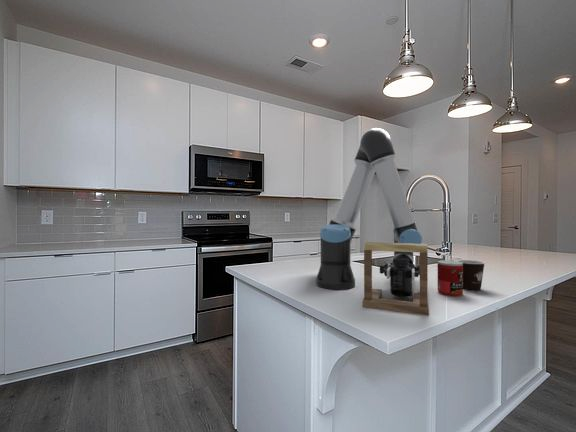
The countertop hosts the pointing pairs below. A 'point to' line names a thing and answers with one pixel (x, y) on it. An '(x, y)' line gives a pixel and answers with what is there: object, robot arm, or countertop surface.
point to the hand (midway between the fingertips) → (400, 275)
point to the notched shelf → (374, 295)
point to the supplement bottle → (401, 278)
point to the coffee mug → (472, 274)
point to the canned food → (450, 278)
